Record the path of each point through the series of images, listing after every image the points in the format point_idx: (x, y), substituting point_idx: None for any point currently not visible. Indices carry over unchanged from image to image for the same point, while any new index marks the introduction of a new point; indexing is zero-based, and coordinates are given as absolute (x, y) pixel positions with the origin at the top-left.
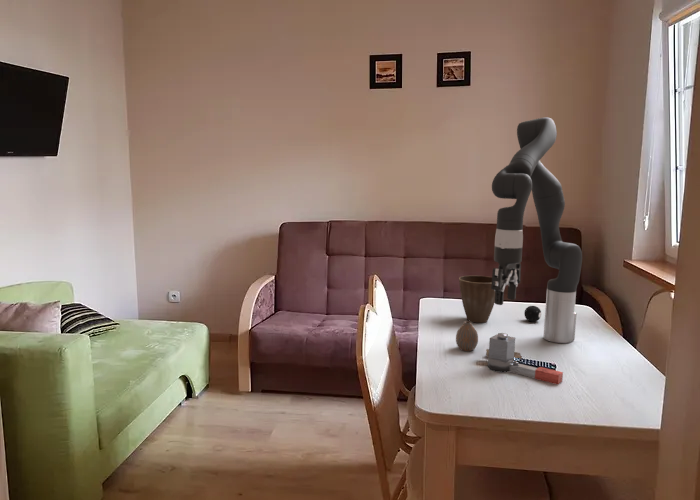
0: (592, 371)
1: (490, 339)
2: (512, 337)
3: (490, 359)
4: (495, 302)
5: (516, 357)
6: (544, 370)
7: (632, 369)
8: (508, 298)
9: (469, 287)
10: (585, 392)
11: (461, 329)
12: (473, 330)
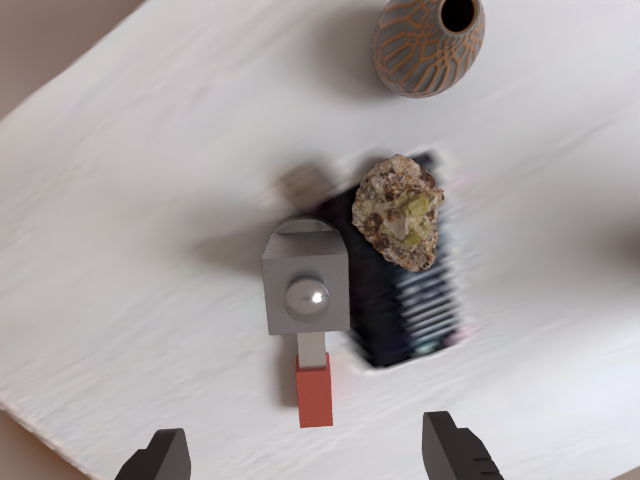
0: (460, 424)
1: (261, 261)
2: (343, 321)
3: None
4: (139, 451)
5: (402, 263)
6: (309, 390)
7: (538, 475)
8: (425, 417)
9: None
10: (301, 460)
11: (407, 8)
12: (433, 69)
